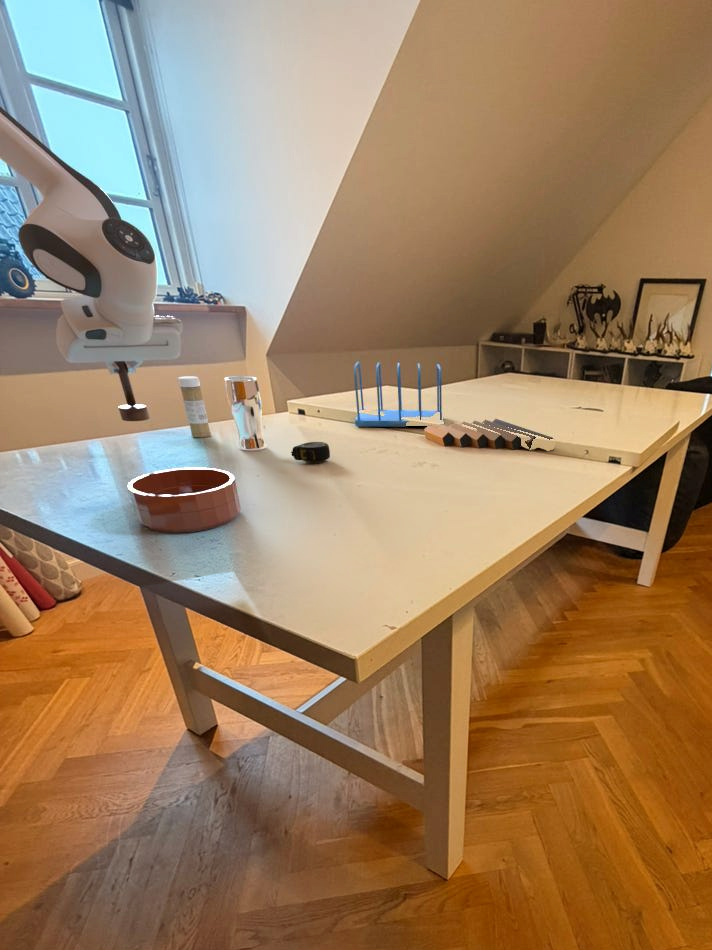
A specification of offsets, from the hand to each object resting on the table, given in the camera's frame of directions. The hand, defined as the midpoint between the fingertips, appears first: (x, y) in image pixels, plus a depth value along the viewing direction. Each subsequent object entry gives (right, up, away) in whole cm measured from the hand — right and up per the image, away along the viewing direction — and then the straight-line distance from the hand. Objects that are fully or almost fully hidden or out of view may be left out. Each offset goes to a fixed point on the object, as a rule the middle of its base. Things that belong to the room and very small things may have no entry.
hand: (121, 370), depth 107 cm
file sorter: (+48, +11, +53) cm, 72 cm away
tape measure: (+34, -14, +13) cm, 39 cm away
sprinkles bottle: (+1, -2, +29) cm, 29 cm away
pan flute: (+74, -3, +34) cm, 81 cm away
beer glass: (+17, -8, +21) cm, 28 cm away
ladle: (0, -8, +5) cm, 9 cm away
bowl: (+24, -33, -18) cm, 44 cm away
